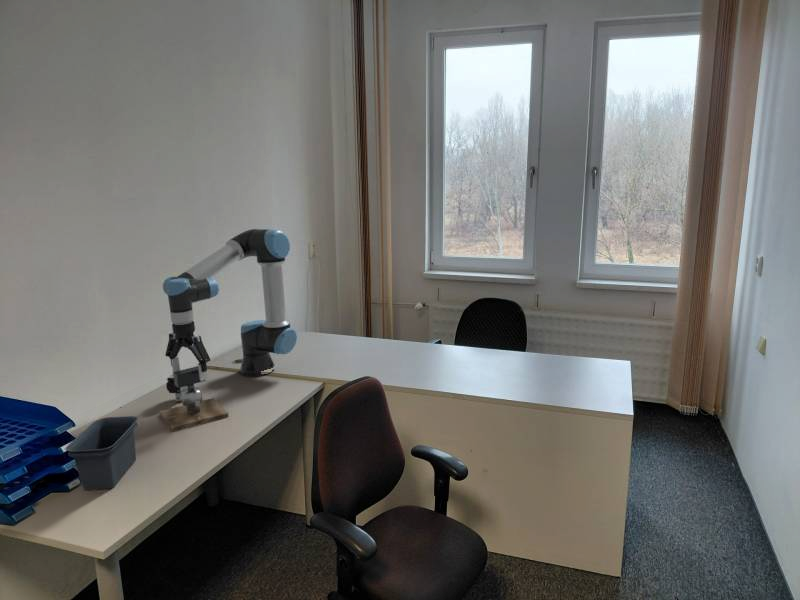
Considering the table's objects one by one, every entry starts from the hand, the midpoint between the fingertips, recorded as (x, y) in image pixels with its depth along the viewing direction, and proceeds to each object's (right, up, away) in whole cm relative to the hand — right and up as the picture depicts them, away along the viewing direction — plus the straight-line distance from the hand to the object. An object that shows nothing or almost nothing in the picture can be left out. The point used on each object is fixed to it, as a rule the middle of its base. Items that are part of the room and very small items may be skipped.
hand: (190, 377), depth 205 cm
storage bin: (-11, -25, -38) cm, 46 cm away
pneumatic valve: (-11, -12, +18) cm, 24 cm away
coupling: (0, -10, +2) cm, 10 cm away
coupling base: (0, -15, +3) cm, 15 cm away
